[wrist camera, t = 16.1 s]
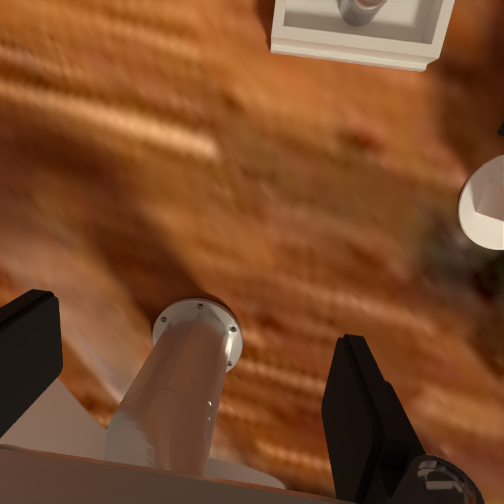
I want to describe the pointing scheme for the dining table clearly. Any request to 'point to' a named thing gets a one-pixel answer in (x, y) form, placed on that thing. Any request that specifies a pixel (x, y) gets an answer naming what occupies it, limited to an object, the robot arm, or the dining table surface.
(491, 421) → the dining table surface
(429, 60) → the trough
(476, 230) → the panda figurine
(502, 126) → the ammunition clip
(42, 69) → the dining table surface
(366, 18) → the cylinder
